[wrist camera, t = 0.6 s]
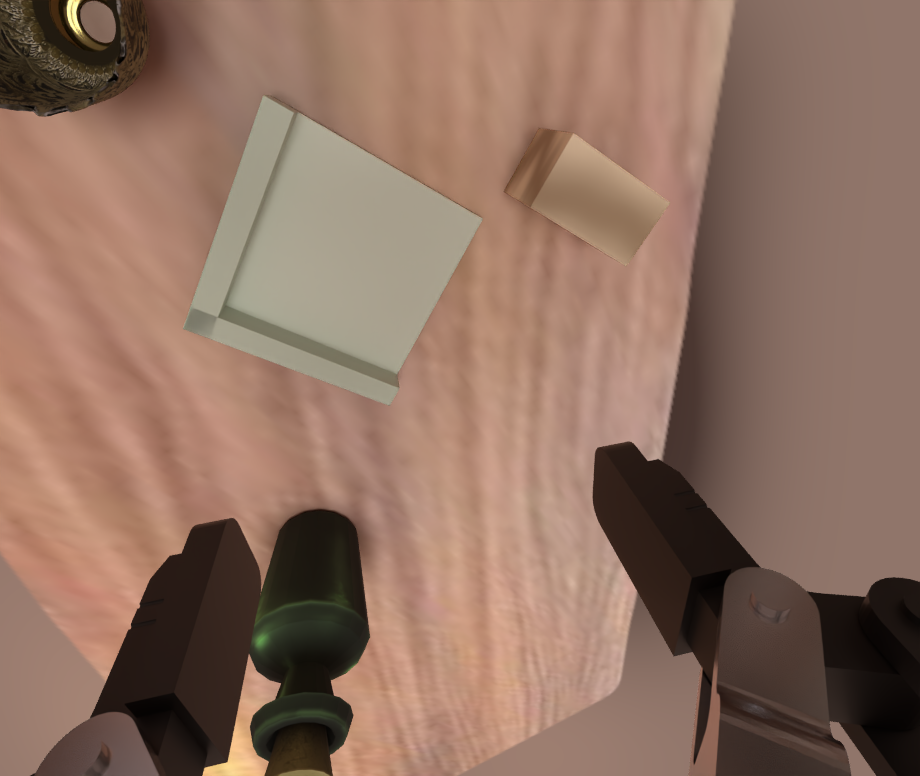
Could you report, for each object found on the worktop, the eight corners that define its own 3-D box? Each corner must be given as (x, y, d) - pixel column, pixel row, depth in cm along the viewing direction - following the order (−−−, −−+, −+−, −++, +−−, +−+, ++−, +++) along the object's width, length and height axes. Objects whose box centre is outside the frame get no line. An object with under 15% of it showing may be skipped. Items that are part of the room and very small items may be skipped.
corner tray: (270, 95, 26) (263, 95, 24) (481, 217, 31) (490, 226, 29) (194, 313, 31) (182, 328, 29) (387, 387, 36) (389, 405, 34)
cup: (218, 73, 25) (168, 63, 18) (92, 137, 26) (-3, 150, 19) (109, -116, 21) (-6, -217, 15) (-38, -38, 22) (-218, -102, 15)
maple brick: (538, 128, 29) (573, 133, 25) (624, 187, 32) (670, 202, 27) (503, 191, 31) (530, 207, 26) (588, 243, 33) (626, 266, 29)
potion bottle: (379, 553, 44) (392, 793, 29) (291, 581, 44) (257, 838, 29) (347, 488, 40) (342, 729, 25) (250, 519, 40) (183, 781, 24)
